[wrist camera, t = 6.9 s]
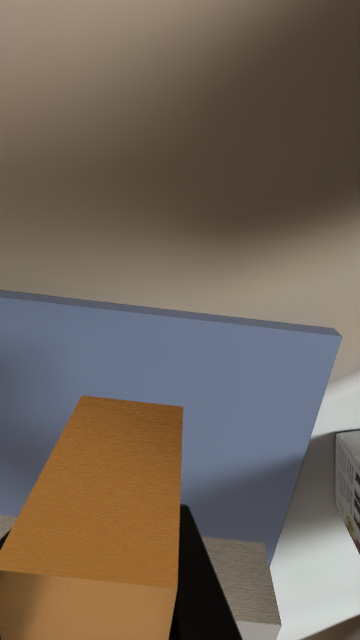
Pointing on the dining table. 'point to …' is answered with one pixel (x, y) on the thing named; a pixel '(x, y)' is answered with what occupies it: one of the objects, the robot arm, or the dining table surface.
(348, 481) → the coffee box
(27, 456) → the keeper
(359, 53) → the dining table surface
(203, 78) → the dining table surface
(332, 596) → the dining table surface
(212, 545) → the grey frame with tab
